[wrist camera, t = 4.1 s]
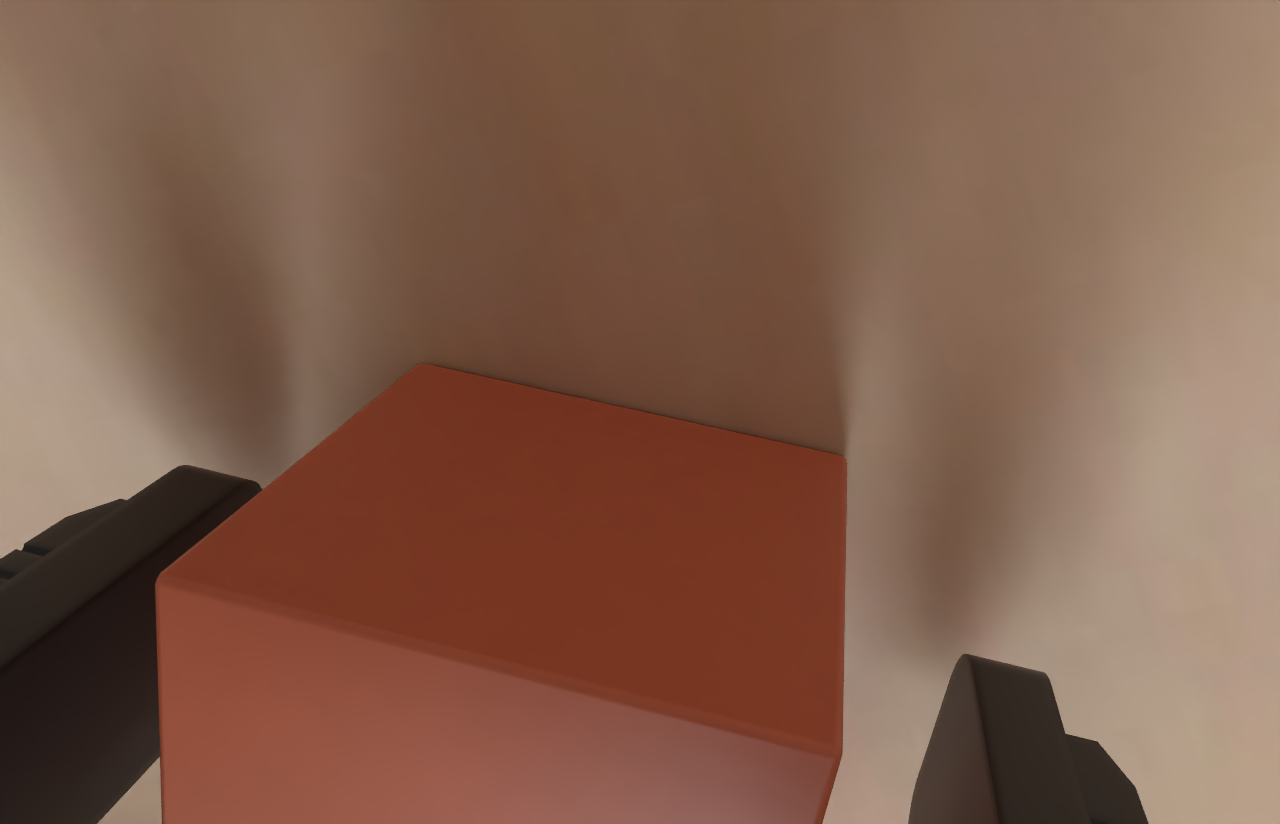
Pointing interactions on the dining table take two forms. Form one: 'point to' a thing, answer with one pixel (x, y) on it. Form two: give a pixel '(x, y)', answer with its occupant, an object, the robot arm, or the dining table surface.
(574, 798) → the block
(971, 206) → the dining table surface
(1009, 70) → the dining table surface
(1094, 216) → the dining table surface
